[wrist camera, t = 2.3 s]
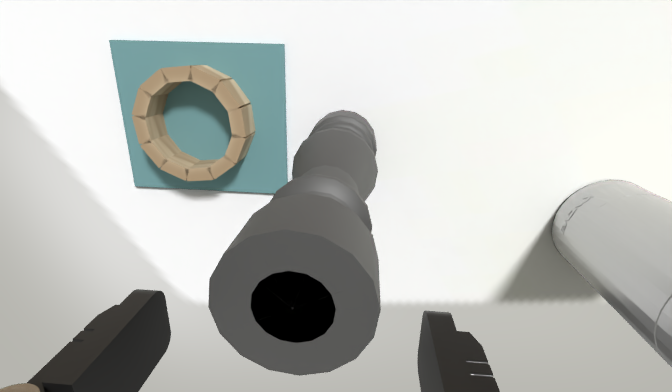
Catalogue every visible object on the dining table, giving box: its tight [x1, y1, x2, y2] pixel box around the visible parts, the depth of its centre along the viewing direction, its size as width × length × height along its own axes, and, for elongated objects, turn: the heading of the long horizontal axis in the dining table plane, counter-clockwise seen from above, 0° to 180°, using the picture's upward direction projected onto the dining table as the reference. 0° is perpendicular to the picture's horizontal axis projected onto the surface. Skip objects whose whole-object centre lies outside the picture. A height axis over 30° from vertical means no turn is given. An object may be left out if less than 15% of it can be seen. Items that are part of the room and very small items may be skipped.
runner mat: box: [109, 40, 288, 194], centre depth 36 cm, size 16×14×1 cm
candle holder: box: [209, 110, 380, 375], centre depth 24 cm, size 6×6×25 cm
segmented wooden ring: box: [132, 65, 256, 181], centre depth 34 cm, size 10×10×3 cm
